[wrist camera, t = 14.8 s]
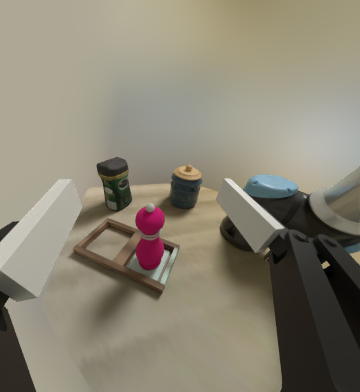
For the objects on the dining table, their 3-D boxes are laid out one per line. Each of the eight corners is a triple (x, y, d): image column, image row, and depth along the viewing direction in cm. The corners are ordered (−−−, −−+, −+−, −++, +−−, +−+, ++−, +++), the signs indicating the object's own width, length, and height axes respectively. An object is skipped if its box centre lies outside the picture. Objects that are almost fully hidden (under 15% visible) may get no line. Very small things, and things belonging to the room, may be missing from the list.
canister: (177, 189, 69) (182, 156, 58) (200, 198, 65) (209, 165, 54) (163, 201, 59) (166, 164, 49) (189, 213, 55) (198, 175, 45)
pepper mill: (132, 256, 37) (123, 201, 25) (154, 243, 41) (155, 190, 29) (145, 278, 33) (143, 224, 21) (168, 261, 37) (176, 208, 25)
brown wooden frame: (108, 222, 45) (107, 218, 44) (178, 249, 41) (179, 245, 40) (74, 252, 36) (72, 248, 34) (161, 293, 31) (162, 290, 30)
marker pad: (144, 241, 41) (144, 241, 41) (170, 251, 40) (170, 251, 39) (127, 267, 34) (127, 267, 34) (157, 281, 33) (157, 280, 33)
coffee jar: (120, 194, 59) (114, 153, 48) (135, 200, 57) (131, 159, 46) (102, 206, 51) (89, 161, 40) (118, 213, 49) (109, 168, 38)
